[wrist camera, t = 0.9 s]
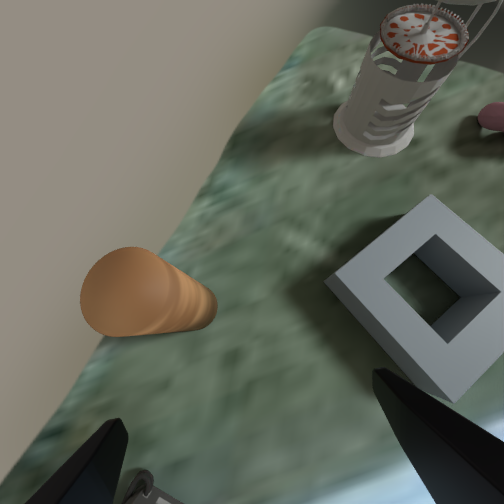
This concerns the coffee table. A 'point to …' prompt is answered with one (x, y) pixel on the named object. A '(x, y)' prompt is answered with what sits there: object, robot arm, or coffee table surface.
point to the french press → (402, 76)
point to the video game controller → (492, 116)
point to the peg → (143, 296)
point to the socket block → (408, 320)
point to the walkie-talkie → (147, 492)
